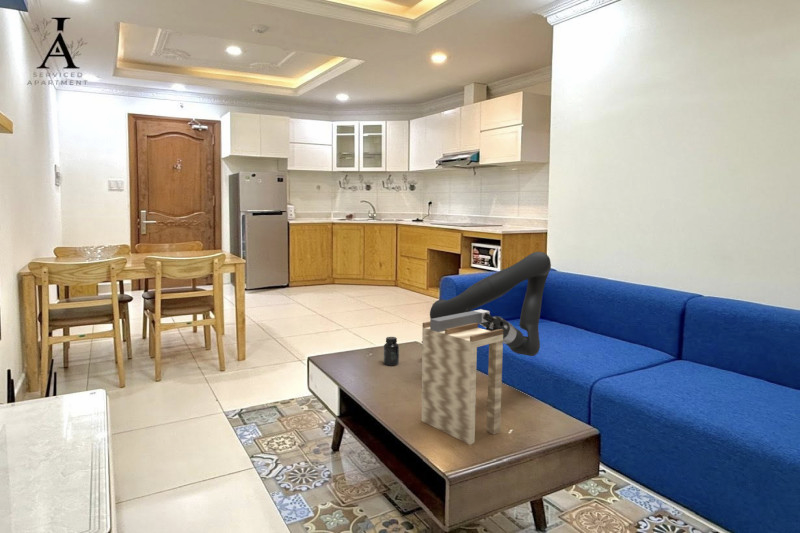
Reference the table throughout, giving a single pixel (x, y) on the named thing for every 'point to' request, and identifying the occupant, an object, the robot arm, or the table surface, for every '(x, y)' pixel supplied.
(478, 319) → the grey rectangular bar
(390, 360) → the supplement bottle
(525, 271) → the robot arm
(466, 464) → the table surface
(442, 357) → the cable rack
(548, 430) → the table surface
